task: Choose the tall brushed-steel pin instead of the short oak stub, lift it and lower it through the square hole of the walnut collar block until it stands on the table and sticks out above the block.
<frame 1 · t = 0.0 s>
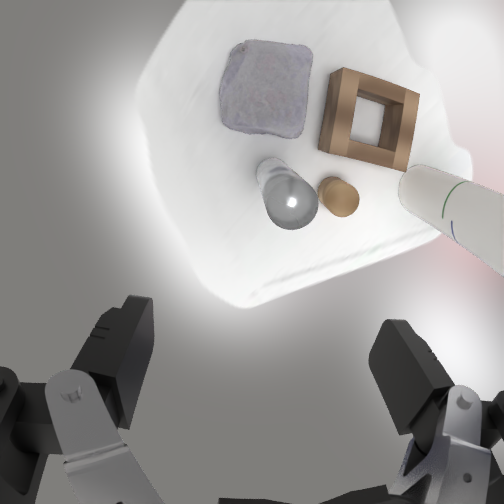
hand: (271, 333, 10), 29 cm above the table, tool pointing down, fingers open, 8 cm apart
cylindrical container: (418, 189, 38), on the table
steel pin: (272, 173, 37), on the table
collar: (361, 120, 34), on the table
stone block: (262, 88, 33), on the table
oak stub: (332, 191, 38), on the table
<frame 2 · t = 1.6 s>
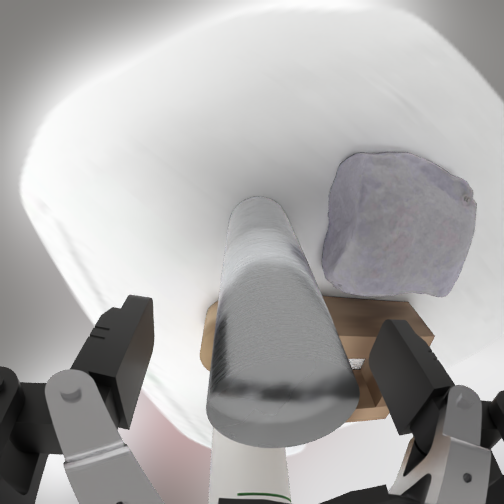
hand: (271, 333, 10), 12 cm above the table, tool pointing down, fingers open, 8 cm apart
cylindrical container: (247, 415, 29), on the table
steel pin: (258, 225, 21), on the table
collar: (342, 346, 25), on the table
stone block: (396, 215, 21), on the table
oak stub: (231, 319, 24), on the table
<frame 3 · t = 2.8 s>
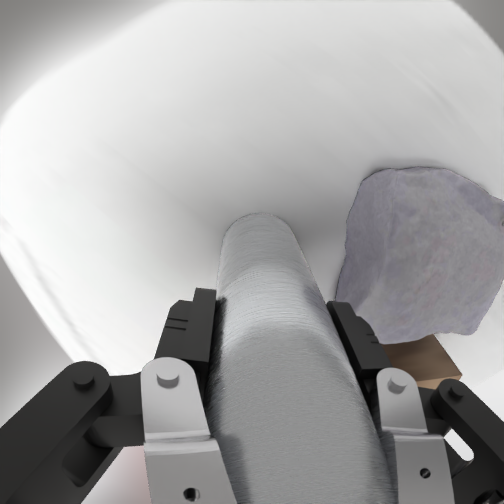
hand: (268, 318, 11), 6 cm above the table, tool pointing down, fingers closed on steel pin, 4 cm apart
steel pin: (259, 249, 16), on the table, touching gripper
collar: (354, 381, 21), on the table
stone block: (423, 242, 17), on the table
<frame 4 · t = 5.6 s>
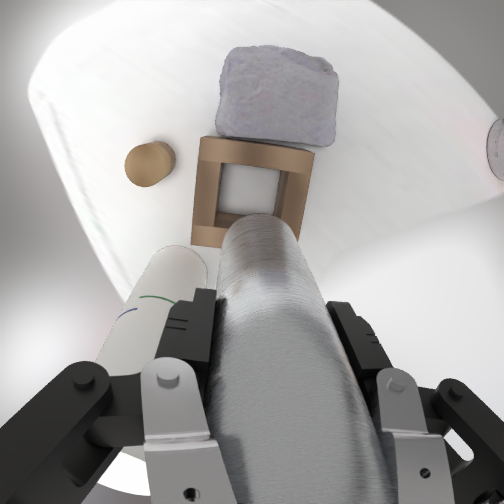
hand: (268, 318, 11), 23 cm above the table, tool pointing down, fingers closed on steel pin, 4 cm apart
cylindrical container: (177, 273, 35), on the table
steel pin: (259, 249, 16), point 17 cm above the table, touching gripper
collar: (248, 188, 32), on the table
stone block: (276, 94, 28), on the table
oak stub: (157, 160, 30), on the table
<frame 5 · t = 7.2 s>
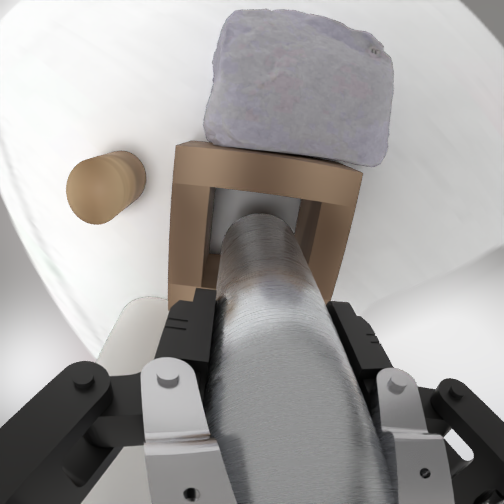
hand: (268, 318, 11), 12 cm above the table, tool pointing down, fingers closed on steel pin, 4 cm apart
cylindrical container: (158, 329, 25), on the table
steel pin: (259, 249, 16), point 6 cm above the table, touching gripper
collar: (254, 219, 22), on the table
stone block: (298, 83, 18), on the table
oak stub: (120, 178, 20), on the table
when the fingers open (7 cm above the table, at t = 8.5 s): steel pin stays where it is, resting in collar.
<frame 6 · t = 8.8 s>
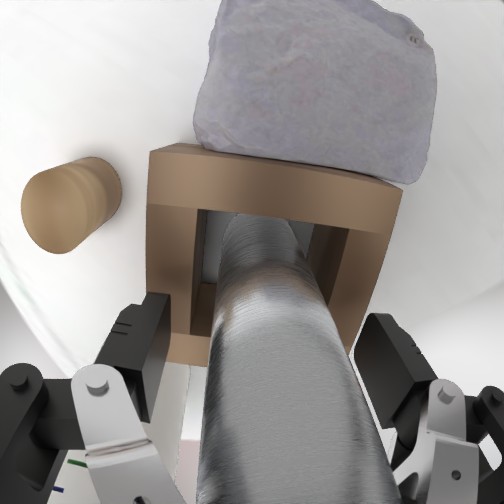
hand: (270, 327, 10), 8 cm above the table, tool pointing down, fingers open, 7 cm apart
cylindrical container: (144, 364, 21), on the table
steel pin: (258, 242, 17), resting in collar
collar: (257, 242, 17), on the table
stone block: (316, 74, 14), on the table
oak stub: (91, 190, 16), on the table
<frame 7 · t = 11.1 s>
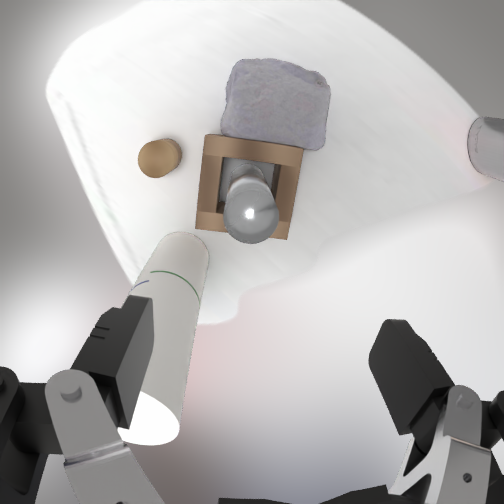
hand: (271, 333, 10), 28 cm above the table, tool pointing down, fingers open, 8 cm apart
cylindrical container: (182, 257, 39), on the table
steel pin: (247, 180, 36), resting in collar
collar: (246, 180, 36), on the table
stone block: (275, 102, 32), on the table
oak stub: (165, 155, 34), on the table
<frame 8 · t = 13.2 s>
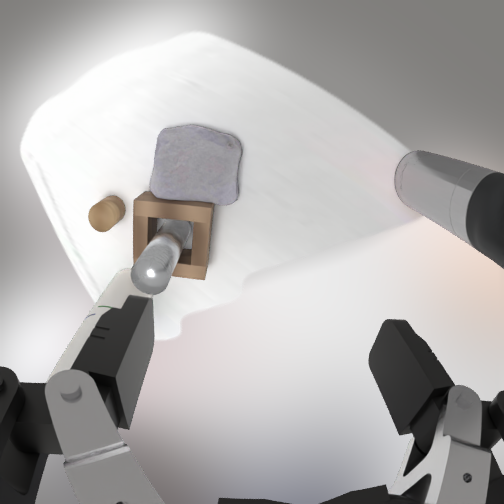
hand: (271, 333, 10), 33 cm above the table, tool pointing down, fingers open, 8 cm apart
cylindrical container: (133, 287, 47), on the table
steel pin: (177, 228, 43), resting in collar
collar: (176, 228, 43), on the table
stone block: (198, 161, 40), on the table
oak stub: (113, 208, 41), on the table
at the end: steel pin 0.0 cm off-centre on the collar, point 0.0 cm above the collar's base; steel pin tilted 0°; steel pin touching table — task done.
